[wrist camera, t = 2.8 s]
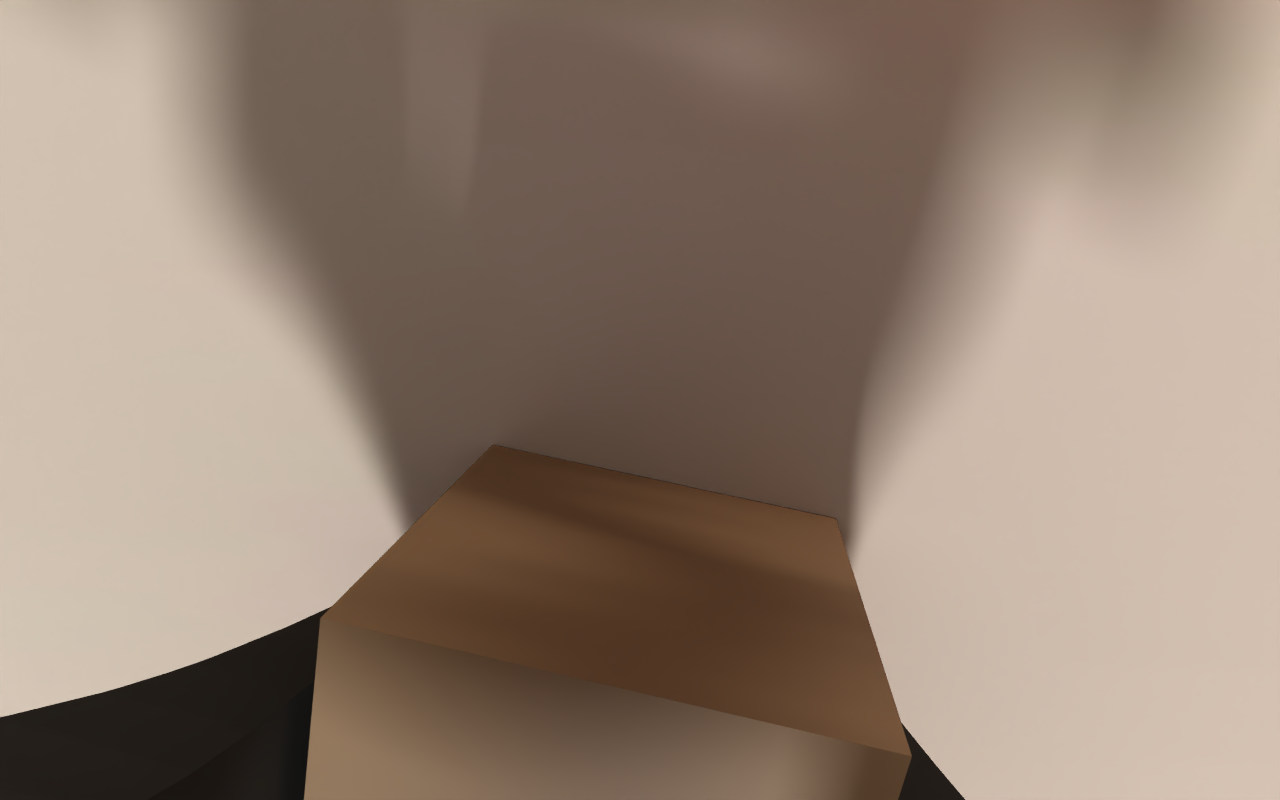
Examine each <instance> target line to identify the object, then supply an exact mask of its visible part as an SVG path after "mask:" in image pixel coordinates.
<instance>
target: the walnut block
mask: <svg viewBox="0 0 1280 800" xmlns="http://www.w3.org/2000/svg"><path fill="white" fill-rule="evenodd" d="M911 758H912V755H911V752H910V749H909V746H908V742H907V739H906V736H905V733H904V730H903V727H902V724H901V721H900V717H899V714H898V711H897V708H896V705H895V702H894V699H893V696H892V692H891V689H890V686H889V683H888V680H887V677H886V674H885V671H884V667H883V664H882V661H881V658H880V655H879V652H878V649H877V646H876V642H875V639H874V636H873V633H872V630H871V627H870V624H869V621H868V618H867V614H866V611H865V608H864V605H863V602H862V599H861V596H860V593H859V589H858V586H857V583H856V580H855V577H854V574H853V571H852V568H851V564H850V561H849V558H848V555H847V552H846V549H845V546H844V543H843V539H842V536H841V533H840V530H839V527H838V524H837V521H836V519H835V518H830V517H825V516H821V515H816V514H811V513H807V512H802V511H798V510H793V509H788V508H784V507H779V506H774V505H770V504H765V503H760V502H756V501H751V500H747V499H742V498H737V497H733V496H728V495H723V494H719V493H714V492H709V491H705V490H700V489H696V488H691V487H686V486H682V485H677V484H672V483H668V482H663V481H658V480H654V479H649V478H645V477H640V476H635V475H631V474H626V473H621V472H617V471H612V470H607V469H603V468H598V467H594V466H589V465H584V464H580V463H575V462H570V461H566V460H561V459H556V458H552V457H547V456H543V455H538V454H533V453H529V452H524V451H519V450H515V449H510V448H505V447H501V446H496V445H492V446H491V447H490V448H489V449H488V450H487V451H486V452H485V453H484V454H483V455H482V456H481V457H480V458H479V459H478V460H477V461H476V462H475V463H474V464H473V465H472V466H471V467H470V468H469V469H468V470H467V471H466V472H465V473H464V474H463V475H462V476H461V477H460V478H459V479H458V480H457V481H456V482H455V483H454V484H453V485H452V486H451V487H450V488H449V489H448V490H447V491H446V492H445V493H444V494H443V495H442V496H441V497H440V498H439V499H438V500H437V501H436V502H435V503H434V504H433V505H432V506H431V507H430V508H429V509H428V510H427V511H426V512H425V513H424V514H423V515H422V516H421V517H420V518H419V519H418V520H417V521H416V522H415V523H414V524H413V526H412V527H411V528H410V529H409V530H408V531H407V532H406V533H405V534H404V535H403V536H402V537H401V538H400V539H399V540H398V541H397V542H396V543H395V544H394V545H393V546H392V547H391V548H390V549H389V550H388V551H387V552H386V553H385V554H384V555H383V556H382V557H381V558H380V559H379V560H378V561H377V562H376V563H375V564H374V565H373V566H372V567H371V568H370V569H369V570H368V571H367V572H366V573H365V574H364V575H363V576H362V577H361V578H360V579H359V580H358V581H357V582H356V583H355V584H354V585H353V586H352V587H351V588H350V589H349V590H348V591H347V592H346V593H345V594H344V595H343V596H342V597H341V598H340V599H339V600H338V601H337V602H336V603H335V604H334V605H333V606H332V607H331V608H330V609H329V610H328V611H327V612H326V613H325V614H324V615H323V616H322V617H321V618H320V628H319V639H318V650H317V661H316V672H315V683H314V694H313V705H312V716H311V728H310V739H309V750H308V761H307V772H306V783H305V794H304V800H898V798H899V795H900V792H901V789H902V786H903V783H904V779H905V776H906V773H907V770H908V767H909V764H910V761H911Z"/></svg>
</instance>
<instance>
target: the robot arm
mask: <svg viewBox="0 0 1280 800" xmlns="http://www.w3.org/2000/svg"><path fill="white" fill-rule="evenodd" d="M330 608H331V607H330ZM330 608H327V609H325V610H323V611H321V612H319V613H317V614H314V615H312V616H310V617H308V618H306V619H303V620H301V621H299V622H297V623H295V624H293V625H290V626H288V627H286V628H283V629H281V630H278V631H276V632H273V633H271V634H269V635H266V636H264V637H261V638H259V639H256V640H254V641H251V642H249V643H246V644H244V645H241V646H239V647H237V648H234V649H232V650H229V651H227V652H224V653H222V654H219V655H217V656H214V657H212V658H209V659H206V660H203V661H201V662H198V663H195V664H192V665H189V666H186V667H184V668H181V669H178V670H175V671H172V672H169V673H166V674H162V675H159V676H156V677H153V678H150V679H146V680H143V681H140V682H137V683H134V684H130V685H127V686H124V687H120V688H117V689H113V690H110V691H106V692H103V693H99V694H95V695H91V696H87V697H83V698H79V699H74V700H70V701H66V702H62V703H58V704H54V705H50V706H46V707H42V708H38V709H34V710H30V711H26V712H21V713H17V714H13V715H9V716H5V717H0V800H304V794H305V783H306V772H307V761H308V750H309V739H310V728H311V716H312V705H313V694H314V683H315V672H316V661H317V650H318V639H319V628H320V618H321V617H322V616H323V615H324V614H325V613H326V612H327V611H328V610H329V609H330ZM901 724H902V723H901ZM902 727H903V730H904V733H905V736H906V739H907V742H908V746H909V749H910V752H911V755H912V758H911V761H910V764H909V767H908V770H907V773H906V776H905V779H904V783H903V786H902V789H901V792H900V795H899V798H898V800H965V799H964V798H963V797H962V795H961V794H960V793H959V792H958V791H957V790H956V788H955V787H954V786H953V785H952V784H951V783H950V781H949V780H948V779H947V778H946V777H945V776H944V774H943V773H942V772H941V771H940V770H939V768H938V767H937V766H936V765H935V764H934V762H933V761H932V760H931V759H930V758H929V756H928V755H927V754H926V753H925V751H924V750H923V749H922V748H921V746H920V745H919V744H918V743H917V742H916V740H915V739H914V738H913V737H912V735H911V734H910V733H909V732H908V730H907V729H906V728H905V727H904V725H903V724H902Z"/></svg>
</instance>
